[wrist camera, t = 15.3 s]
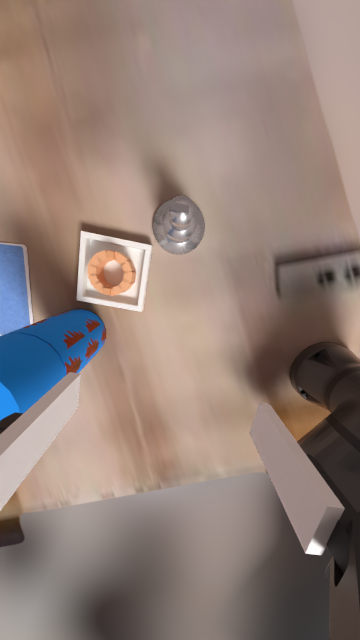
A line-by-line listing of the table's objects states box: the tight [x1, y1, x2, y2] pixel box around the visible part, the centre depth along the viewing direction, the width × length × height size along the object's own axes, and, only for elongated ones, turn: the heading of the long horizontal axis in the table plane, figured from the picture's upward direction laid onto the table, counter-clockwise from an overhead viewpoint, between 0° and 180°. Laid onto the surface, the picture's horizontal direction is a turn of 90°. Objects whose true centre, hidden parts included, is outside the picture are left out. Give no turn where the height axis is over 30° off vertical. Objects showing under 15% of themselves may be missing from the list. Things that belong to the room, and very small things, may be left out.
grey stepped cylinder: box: [153, 195, 205, 254], centre depth 32 cm, size 10×10×12 cm
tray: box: [77, 231, 153, 312], centre depth 39 cm, size 13×13×2 cm
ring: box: [87, 250, 136, 296], centre depth 37 cm, size 8×8×5 cm
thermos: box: [0, 309, 106, 420], centre depth 30 cm, size 11×11×25 cm
